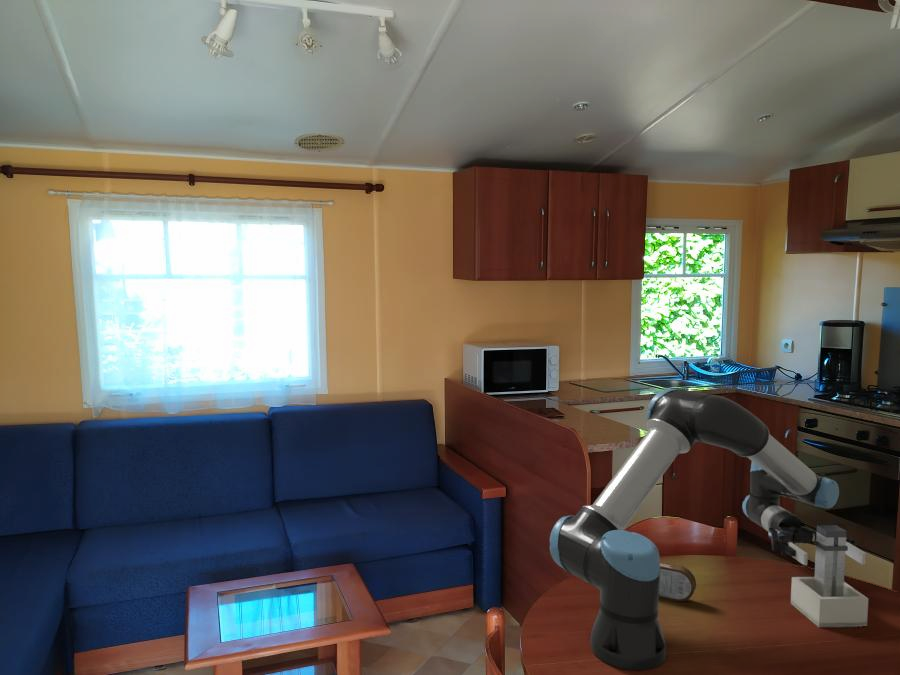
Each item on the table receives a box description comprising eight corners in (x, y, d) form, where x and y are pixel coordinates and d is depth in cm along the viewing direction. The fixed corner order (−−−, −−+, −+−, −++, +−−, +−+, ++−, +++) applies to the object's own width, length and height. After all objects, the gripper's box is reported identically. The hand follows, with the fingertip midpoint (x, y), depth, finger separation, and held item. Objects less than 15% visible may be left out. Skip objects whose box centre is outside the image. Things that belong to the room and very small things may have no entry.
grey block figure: (822, 615, 146) (827, 532, 145) (810, 605, 151) (814, 524, 149) (845, 615, 146) (849, 531, 145) (831, 605, 151) (835, 524, 150)
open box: (818, 627, 143) (820, 599, 142) (790, 603, 154) (791, 577, 153) (866, 626, 143) (868, 598, 143) (835, 602, 154) (836, 576, 154)
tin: (695, 600, 155) (696, 566, 154) (694, 606, 152) (695, 572, 152) (632, 587, 162) (633, 554, 161) (629, 592, 159) (630, 559, 158)
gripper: (829, 538, 168) (887, 574, 147) (735, 539, 167) (780, 575, 146) (830, 510, 168) (889, 542, 146) (736, 511, 167) (782, 543, 146)
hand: (835, 559), depth 146 cm, fingers open, 13 cm apart
